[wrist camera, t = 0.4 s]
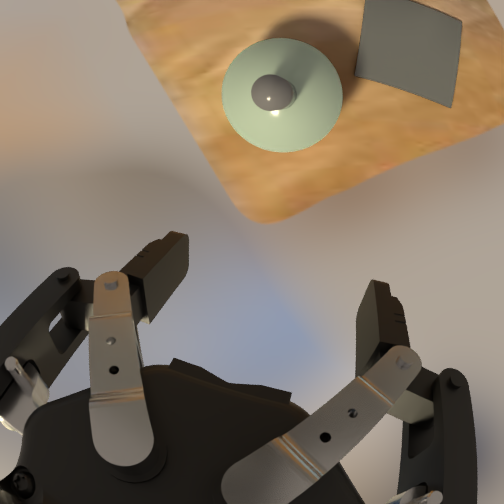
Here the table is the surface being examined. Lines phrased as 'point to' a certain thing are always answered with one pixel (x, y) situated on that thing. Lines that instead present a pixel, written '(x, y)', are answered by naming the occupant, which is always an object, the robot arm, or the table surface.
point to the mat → (410, 48)
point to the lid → (282, 95)
